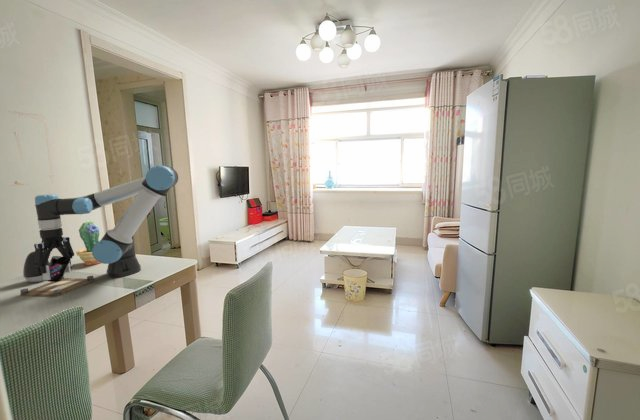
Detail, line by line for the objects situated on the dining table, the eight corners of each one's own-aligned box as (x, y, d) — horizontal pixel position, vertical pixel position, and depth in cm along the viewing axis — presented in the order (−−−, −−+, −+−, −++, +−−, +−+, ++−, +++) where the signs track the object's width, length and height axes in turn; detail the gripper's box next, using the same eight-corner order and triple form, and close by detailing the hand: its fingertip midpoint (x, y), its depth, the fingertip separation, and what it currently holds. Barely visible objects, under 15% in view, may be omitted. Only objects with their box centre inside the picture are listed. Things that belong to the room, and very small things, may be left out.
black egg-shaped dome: (35, 285, 134) (30, 254, 132) (19, 283, 136) (13, 253, 134) (58, 277, 144) (54, 248, 142) (43, 276, 146) (38, 248, 144)
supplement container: (40, 277, 127) (49, 255, 128) (58, 277, 133) (67, 256, 134) (45, 282, 124) (55, 259, 125) (64, 282, 130) (73, 261, 131)
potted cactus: (73, 268, 157) (67, 225, 153) (81, 261, 170) (76, 221, 167) (107, 264, 164) (102, 222, 161) (112, 257, 177) (107, 218, 174)
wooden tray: (95, 280, 139) (94, 275, 138) (57, 296, 120) (56, 291, 120) (61, 279, 140) (60, 275, 140) (19, 296, 122) (18, 290, 122)
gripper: (66, 224, 137) (72, 267, 140) (15, 233, 116) (24, 284, 119) (80, 224, 137) (86, 268, 140) (32, 233, 115) (40, 285, 118)
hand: (57, 275), depth 129 cm, fingers closed on supplement container, 9 cm apart
